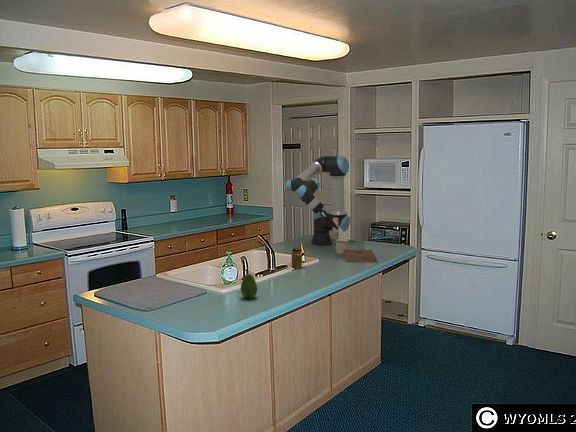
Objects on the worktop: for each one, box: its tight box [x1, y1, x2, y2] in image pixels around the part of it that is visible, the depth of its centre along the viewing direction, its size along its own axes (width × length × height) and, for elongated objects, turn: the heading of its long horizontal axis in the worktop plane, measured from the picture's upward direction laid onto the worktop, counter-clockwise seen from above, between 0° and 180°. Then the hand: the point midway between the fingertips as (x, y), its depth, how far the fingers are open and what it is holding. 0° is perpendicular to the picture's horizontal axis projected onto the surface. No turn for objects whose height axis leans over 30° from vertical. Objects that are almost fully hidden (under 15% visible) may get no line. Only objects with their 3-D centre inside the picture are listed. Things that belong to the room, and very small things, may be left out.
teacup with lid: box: [332, 235, 350, 255], centre depth 349 cm, size 12×9×12 cm
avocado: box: [240, 273, 258, 299], centre depth 249 cm, size 8×8×12 cm
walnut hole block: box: [343, 249, 376, 263], centre depth 331 cm, size 16×18×4 cm
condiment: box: [291, 247, 305, 271], centre depth 306 cm, size 7×8×12 cm
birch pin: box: [331, 218, 339, 240], centre depth 328 cm, size 4×4×13 cm
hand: (341, 231), depth 328 cm, fingers closed on birch pin, 3 cm apart
